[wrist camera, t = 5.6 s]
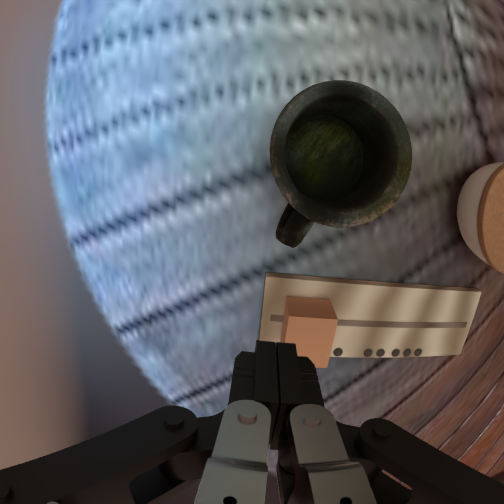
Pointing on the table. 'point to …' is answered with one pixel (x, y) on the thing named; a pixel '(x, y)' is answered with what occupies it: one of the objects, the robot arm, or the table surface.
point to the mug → (338, 158)
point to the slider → (310, 328)
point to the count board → (378, 315)
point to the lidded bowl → (484, 214)
